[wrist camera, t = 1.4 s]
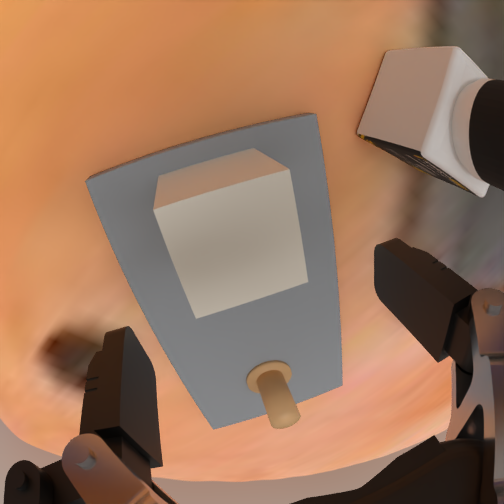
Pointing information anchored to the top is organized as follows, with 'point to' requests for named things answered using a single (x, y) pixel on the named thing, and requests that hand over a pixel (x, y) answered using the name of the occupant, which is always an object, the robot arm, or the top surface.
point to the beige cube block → (231, 230)
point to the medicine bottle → (439, 116)
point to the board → (246, 315)
